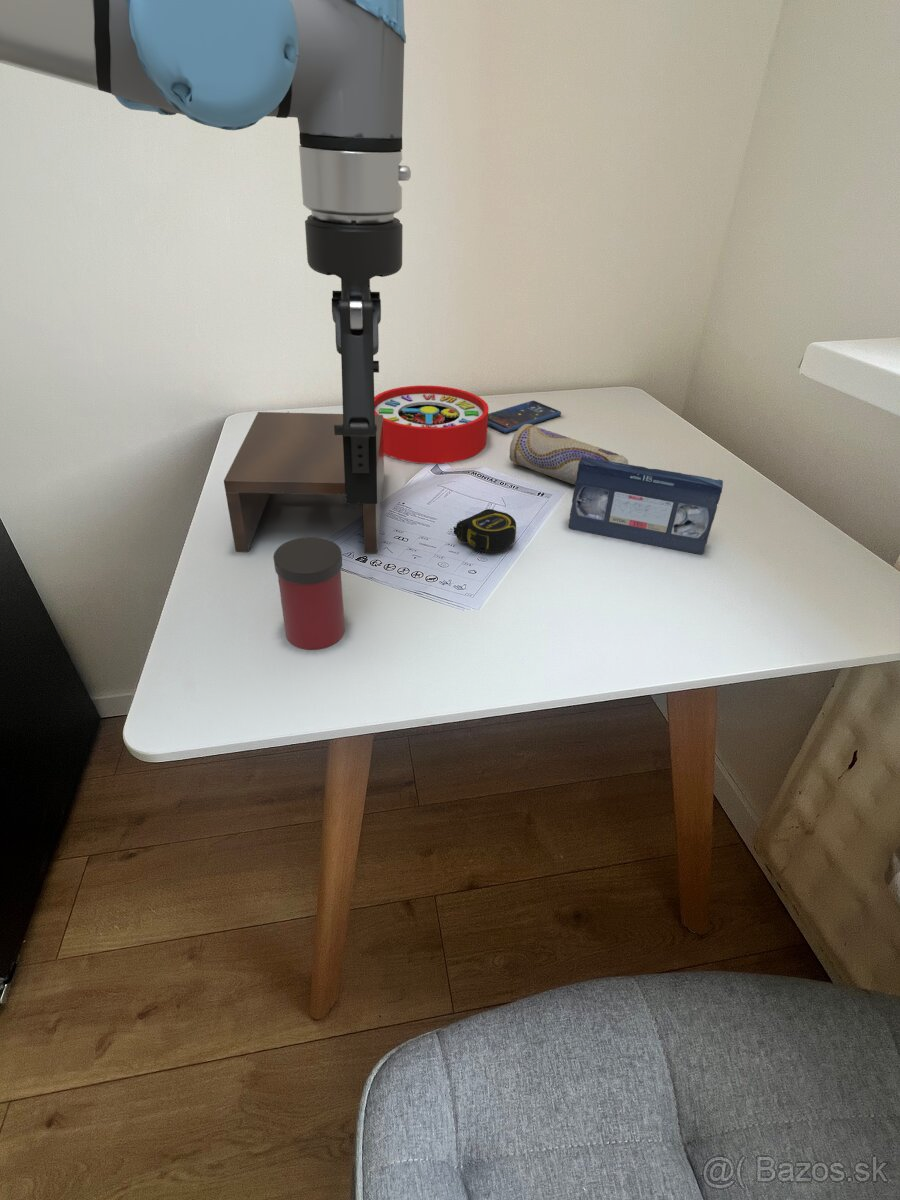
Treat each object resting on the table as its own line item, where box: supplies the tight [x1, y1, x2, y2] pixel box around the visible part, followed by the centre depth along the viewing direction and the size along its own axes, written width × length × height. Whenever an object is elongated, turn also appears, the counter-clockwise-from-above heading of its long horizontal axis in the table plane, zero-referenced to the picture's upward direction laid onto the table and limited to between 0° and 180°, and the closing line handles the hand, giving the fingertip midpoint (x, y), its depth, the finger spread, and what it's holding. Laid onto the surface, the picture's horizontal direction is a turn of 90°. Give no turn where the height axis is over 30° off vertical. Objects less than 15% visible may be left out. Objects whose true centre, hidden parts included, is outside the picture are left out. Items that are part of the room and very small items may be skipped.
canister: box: [273, 536, 346, 651], centre depth 74 cm, size 7×7×10 cm
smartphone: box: [487, 400, 562, 433], centre depth 129 cm, size 8×1×15 cm
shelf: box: [223, 411, 385, 554], centre depth 95 cm, size 18×22×10 cm
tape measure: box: [453, 508, 517, 553], centre depth 92 cm, size 7×7×4 cm
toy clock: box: [374, 385, 489, 465], centre depth 118 cm, size 20×6×20 cm
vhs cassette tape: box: [568, 457, 724, 555], centre depth 93 cm, size 18×3×10 cm, turn 70°
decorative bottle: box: [509, 424, 639, 485], centre depth 105 cm, size 26×8×7 cm, turn 51°
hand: (361, 468), depth 66 cm, fingers open, 13 cm apart
